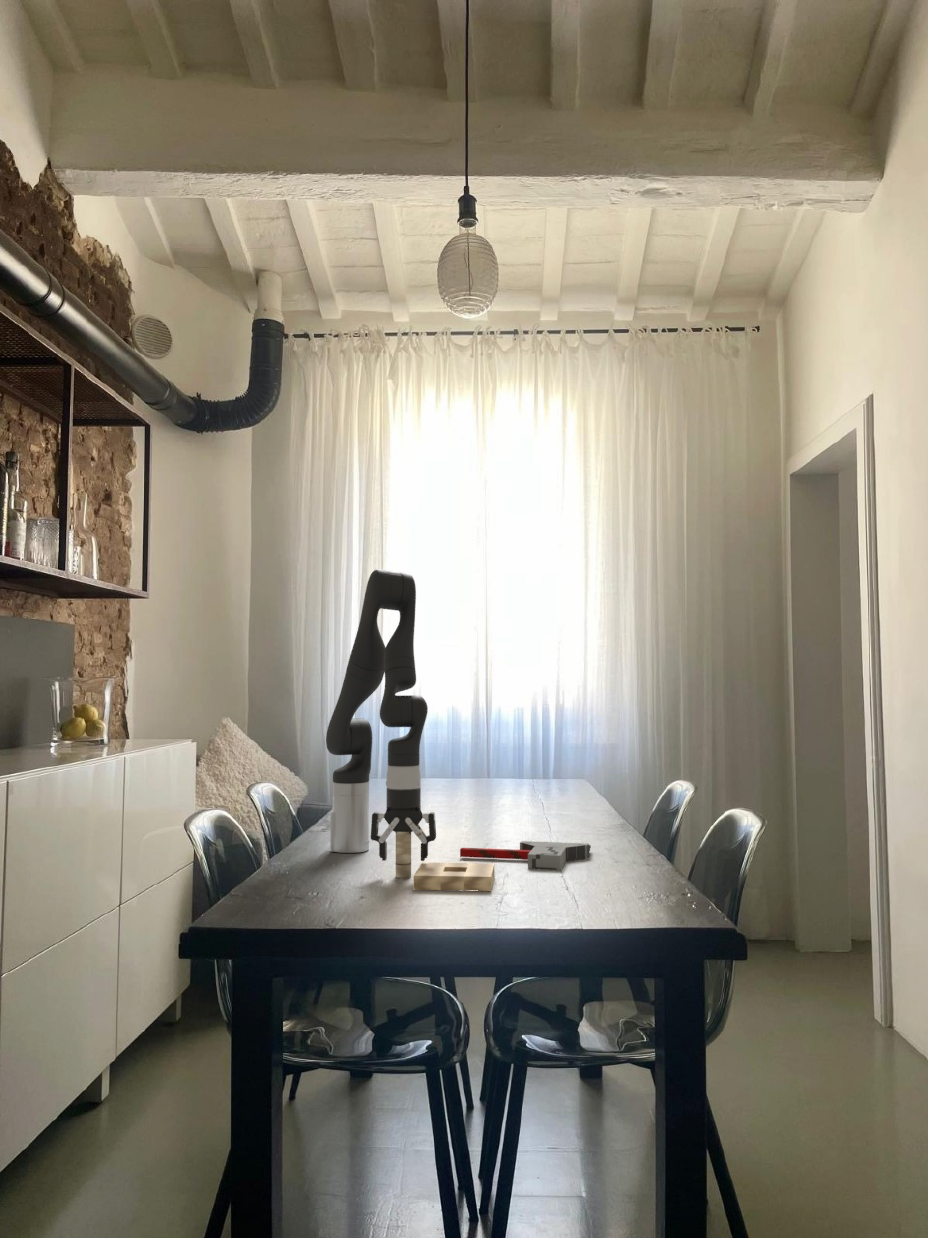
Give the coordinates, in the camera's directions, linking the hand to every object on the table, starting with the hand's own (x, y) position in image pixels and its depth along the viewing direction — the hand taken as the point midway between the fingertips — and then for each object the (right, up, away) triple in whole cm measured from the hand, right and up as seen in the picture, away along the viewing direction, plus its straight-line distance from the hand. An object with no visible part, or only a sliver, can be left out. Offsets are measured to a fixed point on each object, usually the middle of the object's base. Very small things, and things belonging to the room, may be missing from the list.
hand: (403, 860), depth 211 cm
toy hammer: (+28, -5, +21) cm, 35 cm away
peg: (0, -4, 0) cm, 4 cm away
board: (+11, -3, -7) cm, 14 cm away
